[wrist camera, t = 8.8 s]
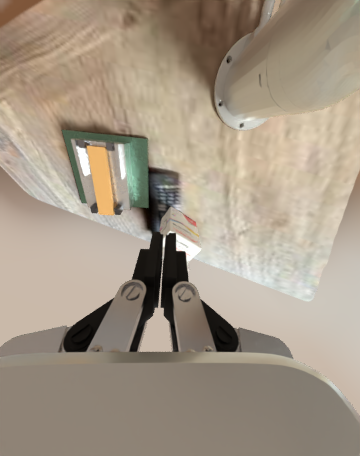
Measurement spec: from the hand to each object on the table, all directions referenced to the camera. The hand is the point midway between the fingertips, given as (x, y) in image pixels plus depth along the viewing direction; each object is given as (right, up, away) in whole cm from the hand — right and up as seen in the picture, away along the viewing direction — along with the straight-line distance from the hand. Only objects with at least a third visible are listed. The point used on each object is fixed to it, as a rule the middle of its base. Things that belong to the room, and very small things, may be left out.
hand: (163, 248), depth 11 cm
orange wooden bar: (-14, +10, +18) cm, 25 cm away
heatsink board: (-14, +14, +23) cm, 30 cm away
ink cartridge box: (+1, +4, +30) cm, 30 cm away
